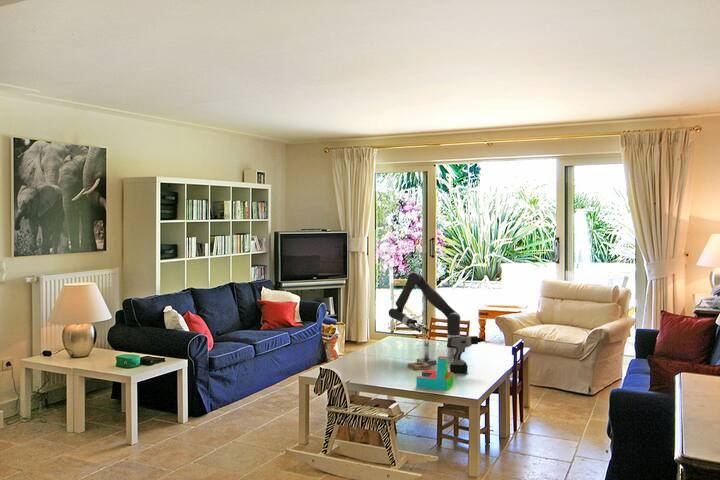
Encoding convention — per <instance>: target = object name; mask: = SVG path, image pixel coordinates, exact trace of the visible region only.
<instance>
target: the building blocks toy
mask: <svg viewBox="0 0 720 480" xmlns="http://www.w3.org/2000/svg"><path fill="white" fill-rule="evenodd" d="M415 382H416V383H415V384H416V388H419V387H420V388H419V389H428V388H430V390H431V389H432V390H437V391H438V390H440V391H448V390H449V388H450V387H452V385H453V383H454V373H453V372H450V371H449V369H448V357H447V356H441V355H439V356H438V357H437V368H436V370H432V369H431V370H429V369H423V371H421V375H417V376H416V380H415Z"/></svg>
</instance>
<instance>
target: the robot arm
mask: <svg viewBox="0 0 720 480" xmlns="http://www.w3.org/2000/svg"><path fill="white" fill-rule="evenodd" d="M406 279H407V280H406V283H404V284H405V285H404V287H403V290H401V293H400V294H399V296H398V298H397V299H396V301H395V306H396V308H393V307H392V308H390V309H389V310H388V315H389V317H390V318H392V319H394V320H395V321H398V322H400V323H401V324H403V325H404V326H406V327H408V328H409V329H411V330H412V331H416V332H419V333H421V332H422V331H425V332H427V333H429V332H430V328H428V326H427V325H425V324H424V323H418V320H417V319H415V318H414V317H412V316H411V315H407V313H404V308H405V305H407V303H408V300H409V299H410V295H411V293H412V291H413V289H414V288H415V287H418V288H419V290H420V291H421V293H422V294H423V296H424V297H425V299H426V300H427V301H428V302H429V303H430V304H431V305H432V306H433V307H434V308H435V309H436V310H439V312H441V313H442V314H443V315H444V316H445V317H446V323H447V324H446V329H447V337H446V338H447V339H446V340H447V342H448V338H451V337H461V329H460V328H461V315H460V313H458V312H457V311H455V310H454V308H452V307H451V306H450V305H449V304H448V302H447V301H446V300H445V299H444V298H443V297H442V296H441V295H440V294H439V292H437V290H435V288H433V287H432V286H431V285H430V284H429V283H428V282H427V281H426V279H425V278H424V277H423V276H422V274H421V273H420V272H418V271H412V272H411V273H409V274H408V276H407V278H406ZM446 349H447V351H446V352H447V353H446V355H447V356H446V357H447V359H448V358H449V359H454V355H455V353H456V349H455V348H447V347H446ZM460 358H462V355H461V356H460Z"/></svg>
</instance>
